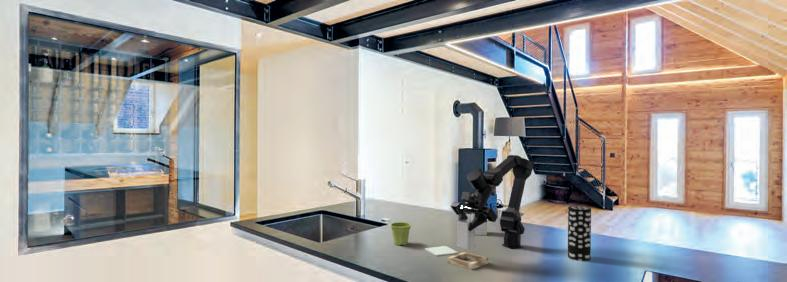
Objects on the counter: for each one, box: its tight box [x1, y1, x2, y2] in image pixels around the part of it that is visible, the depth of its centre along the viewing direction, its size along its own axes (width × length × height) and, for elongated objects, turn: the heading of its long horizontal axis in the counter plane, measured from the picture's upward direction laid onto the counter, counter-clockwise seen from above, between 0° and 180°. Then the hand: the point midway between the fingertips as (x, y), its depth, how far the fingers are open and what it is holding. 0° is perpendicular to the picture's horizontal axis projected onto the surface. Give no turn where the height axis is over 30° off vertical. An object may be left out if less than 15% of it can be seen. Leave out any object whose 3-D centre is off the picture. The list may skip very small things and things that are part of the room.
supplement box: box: [471, 213, 488, 236], centre depth 198 cm, size 7×7×13 cm
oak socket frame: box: [447, 251, 489, 271], centre depth 152 cm, size 11×11×2 cm
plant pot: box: [389, 221, 412, 246], centre depth 178 cm, size 9×9×9 cm
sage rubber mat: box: [424, 245, 459, 257], centre depth 167 cm, size 10×10×1 cm
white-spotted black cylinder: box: [567, 205, 592, 262], centre depth 159 cm, size 8×8×20 cm
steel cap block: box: [456, 219, 476, 250], centre depth 152 cm, size 4×5×10 cm
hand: (463, 229), depth 151 cm, fingers closed on steel cap block, 5 cm apart
